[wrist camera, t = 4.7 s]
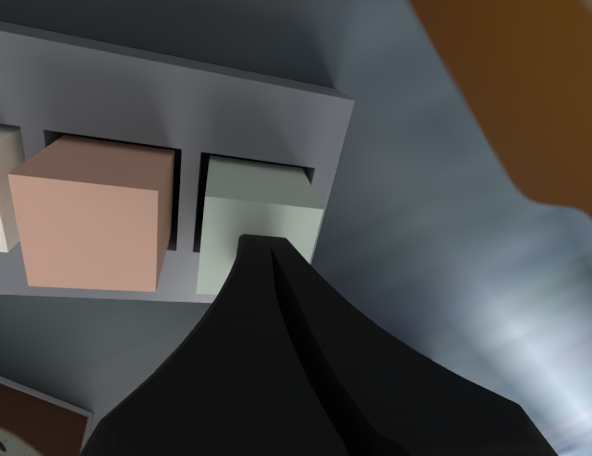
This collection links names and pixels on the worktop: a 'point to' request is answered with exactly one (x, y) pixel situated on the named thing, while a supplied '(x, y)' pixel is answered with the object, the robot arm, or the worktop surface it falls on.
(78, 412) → the half round cake
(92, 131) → the key console
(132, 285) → the key terracotta
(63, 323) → the worktop surface
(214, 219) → the key sage
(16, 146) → the key cream
